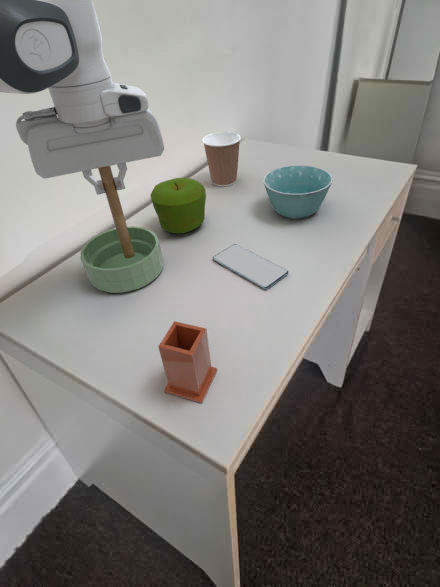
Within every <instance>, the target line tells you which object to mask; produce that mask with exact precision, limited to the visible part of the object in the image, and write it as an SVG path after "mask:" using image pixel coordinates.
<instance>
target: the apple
mask: <svg viewBox="0 0 440 587" xmlns="http://www.w3.org/2000/svg"><path fill="white" fill-rule="evenodd" d="M150 199H151V203H152V206H153V209H154V211H155V213H156V215H157V219H158V222H159V225H160V227H161V229H163V230H164V231H165V232H168V233H171V234H185V233H189V232H191V231H193V230H195V229H197V228H199V227H200V226H201V225H202V224H203V223H204V221H205V218H206V200H207V194H206V188H205V186H204V184H203V183H201V182H200V181H198V180H196V179H194V178H190V177H175V178H171V179H167V180H163V181H161V182H158V183H157V184H156V185H154V187H153V189H152V190H151V193H150Z"/></svg>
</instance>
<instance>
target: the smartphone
mask: <svg viewBox="0 0 440 587" xmlns="http://www.w3.org/2000/svg"><path fill="white" fill-rule="evenodd" d="M212 260H213V261H215V262H216V263H218V264H220V265H221V266H224V267H225V268H226V269H228V270H230V271H232V272H234V273H235V274H237V275H238V276H241V277H243V278H244V279H246V280H247V281H250V282H251V283H253V284H254V285H256V286H258V287H260V288H262V289H264V290H268V289H270V288H271V287H272V286H274V285H275V284H277V283H278V282H279V281H282V279H284V278H285V277H286V276H287V275H289V270H288V269H286V268H284V267H282V266H280V265H278V264H276V263H275V262H272V261H271V260H268V259H266V258H265V257H262V256H260V255H258V254H256V253H254V252H253V251H251V250H249V249H247V248H245V247H243V246H241V245H239V244H236V243H234V244H231V245H230V246H228V247H227V248H225V249H223V250H222V251H221V252H218V253H217V254H215V255H213V256H212Z"/></svg>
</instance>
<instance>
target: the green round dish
mask: <svg viewBox="0 0 440 587" xmlns="http://www.w3.org/2000/svg"><path fill="white" fill-rule="evenodd" d="M127 229H128V232H129V236H130V240H131V243H132V247H133V251H134V256H133V257H132V258H125V257H124V254H123V251H122V247H121V244H120V241H119V237H118V234H117V230H116V227H115V228H111V229H108V230H105V231H102V232H100V233H98V234H97V235H95V236H93V237H92V238H90V239H89V240H88V241H87V242H86V243H85V244H84V245H83V246H82V248H81V249H80V257H79V258H80V261H81V264H82V266H83V268H84V271H85V273H86V276H87V279H88V281H89V283H90V284H91V286H92V287H94V288H95V289H97V290H99V291H101V292H106V293H112V294H113V293H117V294H118V293H127V292H130V291H135V290H138V289H140V288H143V287H145V286H148V285H149V284H150V283H151V282H153V281H154V280H155V279H157V278H158V276H160V274H161V272H162V270H163V268H164V258H163V255H162V249H161V246H160V241H159V237H158V235H157V234H156V233H155V232H154V231H153V230H150V229H149V228H145V227H141V226H134V225H132V226H127Z"/></svg>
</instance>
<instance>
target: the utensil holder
mask: <svg viewBox="0 0 440 587" xmlns="http://www.w3.org/2000/svg"><path fill="white" fill-rule="evenodd" d="M157 347H158V351H159V355H160V358H161V363H162V366H163V369H164V373H165V378H166V381H167V383H166V385H165V386H164V388H163V392H164V393H166V394H169V395H172V396H175V397H178V398H183V399H185V400H189V401H193V402H196V403H200V404H203V402H204V401H205V398H206V396H207V394H208V392H209V389H210V387H211V385H212V384H213V382H214V378H215V377H216V374H217V372H218V368H217V367H214V366H212V360H211V352H210V345H209V338H208V331H207V328H205V327H201V326H197V325H193V324H189V323H184V322H179V321H175V320H174V321H173V322H172V324H171V326H170V327H169V329H168V331H167V332H166V333H165V335H164V337H163V338H162V340H161V341H160V343H159V344H158V346H157Z"/></svg>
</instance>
